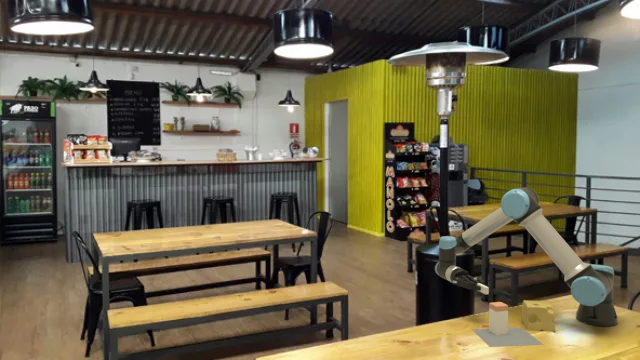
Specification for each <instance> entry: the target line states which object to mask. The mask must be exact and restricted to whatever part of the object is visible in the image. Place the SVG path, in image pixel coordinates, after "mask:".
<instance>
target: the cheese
mask: <svg viewBox="0 0 640 360" xmlns="http://www.w3.org/2000/svg"><path fill="white" fill-rule="evenodd" d="M521 318H522V319H521V320H522V324H523V325H524V326H525V327H526V331H537V332H538V331H539V332H540V331H543V332H551V333H554V334H555V333H556V323H555V319H556V318H555V312H554V307H553V305H552V303H551V301H550V300H525V299H523V301H522V304H521Z"/></svg>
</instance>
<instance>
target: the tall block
mask: <svg viewBox="0 0 640 360" xmlns="http://www.w3.org/2000/svg"><path fill="white" fill-rule="evenodd" d="M488 304H489V305H488V307H489V308H488V309H489V310H488V329H489V331H490V332H492V333H494V334H495V335H501V334H508V328H509V305H508V304H507V303H504V302H501V301H495V302H489V303H488Z"/></svg>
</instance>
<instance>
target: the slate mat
mask: <svg viewBox="0 0 640 360" xmlns="http://www.w3.org/2000/svg"><path fill="white" fill-rule="evenodd" d="M471 330H472V331H473V332H474V334H476V335H477V336H478V337H479V338H480V339H481V340H482V341H483V342H484V343H485V344H486V345H487V346H488V347H489V348H496V347H498V348H499V347H501V348H502V347H519V346H520V347H522V346H542V345H544V344H545V343H544V344H543V343H542V342H541V341H540V340H538V338H536V337H534V336H533V335H532V334H530V333H529V331H527V330H525V329H524V328H522V327H508V334H501V335H495V334H494V333H492V332H490V331H489V328H478V329H477V328H476V329H471Z"/></svg>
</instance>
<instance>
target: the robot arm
mask: <svg viewBox="0 0 640 360" xmlns="http://www.w3.org/2000/svg"><path fill="white" fill-rule="evenodd" d="M512 221H514V222H515V223H516V224H517V226H519V227H523V228H525V230H526V231H527V232H528V233H529V234H530V236H532V237H533V239H534V240H535V242H537V243H538V245H539V247H541V249H542V250H543V251H544V253H546V255H548V257H549V259H551V261H552V262H553V263H554V264H555V265H556V266H557V268H558V269H559V270H560V271H561V273H562V274H563V275H564V282H565V284H566V285H567V286H568V287H569V288H570V293H571V297H572V298H573V299H574V300H575V301H576V302H577V303H579V305H578V307H577V309H576V315H575V318H576V320H577V321H578V322H581V323H584V324H587V325H590V326H596V327H597V326H598V327H612V326H613V327H614V326H616V325H617V324H618V320H619V319H618V315H617V311H616V309H615V305H614V286H615V285H614V283H615V282H614V281H615V280H614V279H615V278H614V277H615V270H614V268H613V267H612V266H609V265H604V264H592V263H589V262H588V263H587V262H583V260H582V259H581V258H580V257H579V256H578V255H577V253H576V252H575V251H574V249H572V247H571V246H570V245H569V244H568V243H567V242H566V240H565V239H564V238H563V237H562V236H561V235H560V234H559V232H558V231H557V230H556V229H555V228H554V227H553V225H552V224H551V223H550V222H549V220H548V219H547V218H546V217H545V215H543V207H541V205H540V198H539V194H538V193H537V192H536V191H535V190H534V189H532V188H530V187H526V186H523V187H518V188H513V189H510V190H509V191H507V192H506V193H505V194H504V195H503V196H502V198H501V201H500V207H499V208H497V209H496V210H494V211H493V212H491V213H490V214H489V215H487V216H486V217H484V218H482V219H481V220H480V221H478V222H477V223H475V224H474V225H472V226H470V227H469V228H468V229H466V230H465V231H463V232H462V233H460V234H458V235H457V236H455V237H454V236H452V235H451V236H450V235H446V236H440V238H439V242H438V262H437V263H436V264H435V266H434V271H435V273H436V274H437V275H438V276H439V277H440V278H442V279H444V280H445V281H448V282H450V283H452V285H454V286H457V287H461V288H463V289H467V290H469V291H470V290H472V291H473V292H480V293H482V294H484V295H489V292H490V290H489V289H490V287H488V286H487V285H486V283H485V281H484V280H483V279H481V277H480V276H476V277H474V276H472V275H470V273H469V271H467V270H465V269H464V268H461V267H459V266H456V265H457V264H456V263H457V255H459V254H461V253H464V252H467V250H468V251H469V249H470V248H472V247H473V246H474V245H476V244H478V243H479V242H481V241H482V240H484V239H486V238H488V237H489V236H490V235H492V234H493V233H495V232H496V231H498V230H499V229H501V228H503V227H504V226H506V225H508V224H509V223H511V222H512Z"/></svg>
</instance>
